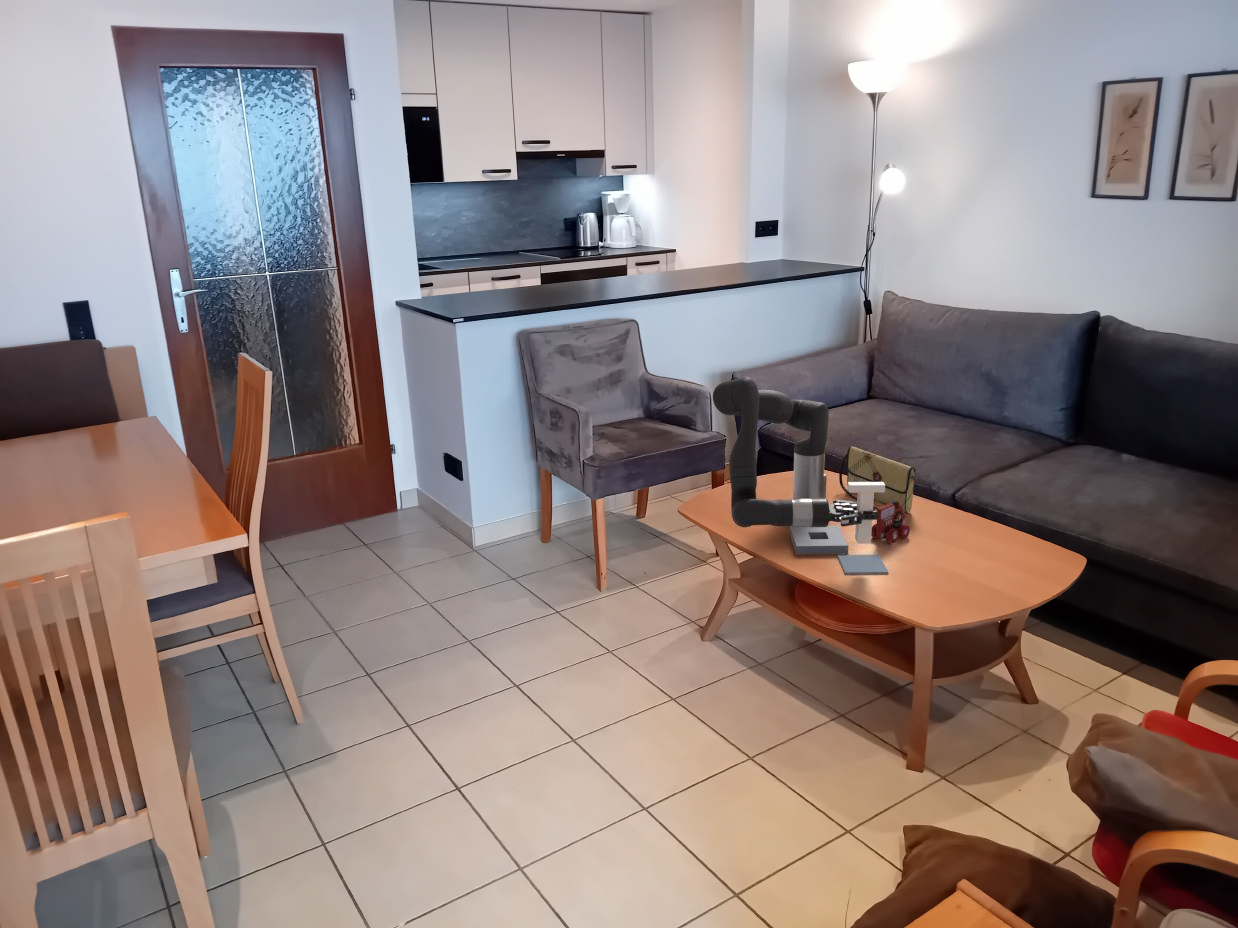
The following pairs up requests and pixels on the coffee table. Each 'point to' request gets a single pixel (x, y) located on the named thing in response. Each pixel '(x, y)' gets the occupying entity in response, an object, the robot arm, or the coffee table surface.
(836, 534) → the socket block
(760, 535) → the coffee table surface
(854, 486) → the t key
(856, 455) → the clutch purse
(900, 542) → the coffee table surface
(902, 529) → the toy fire truck
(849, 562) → the mat
